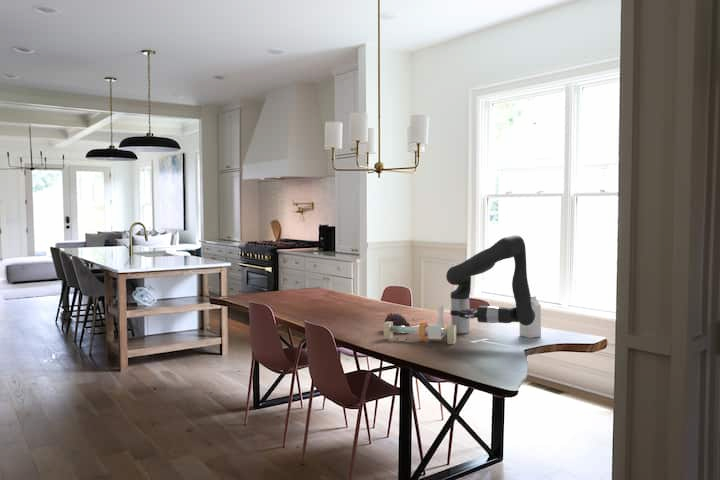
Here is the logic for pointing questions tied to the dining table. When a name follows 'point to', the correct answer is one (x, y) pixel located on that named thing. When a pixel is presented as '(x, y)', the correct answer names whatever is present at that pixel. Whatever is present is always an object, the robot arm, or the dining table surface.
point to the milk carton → (535, 327)
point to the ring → (423, 330)
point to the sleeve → (436, 327)
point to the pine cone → (397, 320)
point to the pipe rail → (404, 329)
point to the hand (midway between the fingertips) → (450, 312)
